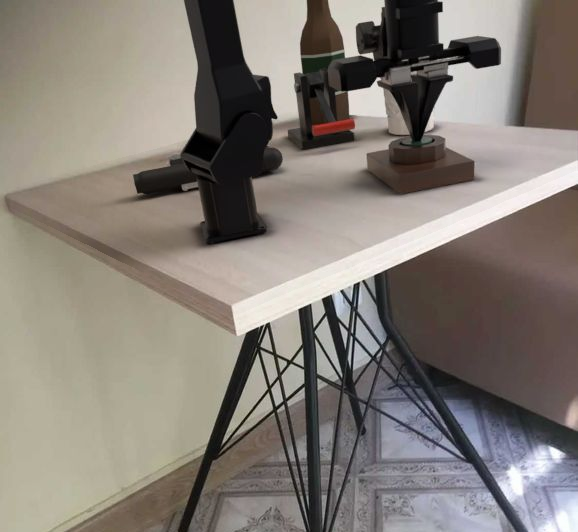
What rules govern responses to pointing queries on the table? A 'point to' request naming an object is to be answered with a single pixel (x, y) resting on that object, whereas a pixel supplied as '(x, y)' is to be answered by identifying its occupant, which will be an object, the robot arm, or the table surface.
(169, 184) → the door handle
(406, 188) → the button block
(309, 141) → the bracket
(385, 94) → the white cup
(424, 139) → the button
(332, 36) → the beer bottle
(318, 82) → the lever
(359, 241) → the table surface
